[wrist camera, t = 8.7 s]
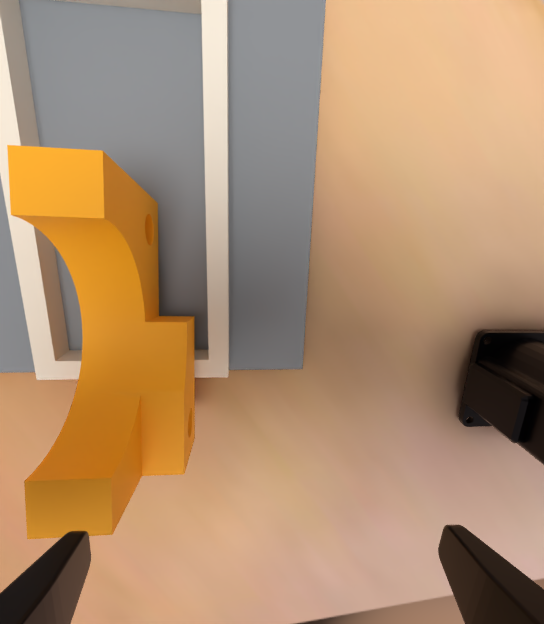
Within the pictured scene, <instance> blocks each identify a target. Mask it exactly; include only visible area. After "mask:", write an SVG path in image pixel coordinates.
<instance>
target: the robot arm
mask: <svg viewBox="0 0 544 624" xmlns="http://www.w3.org/2000/svg"><path fill="white" fill-rule="evenodd" d="M486 337H487V339H486V340H485V341H484V339H485V338H486ZM468 417H469V418H468ZM467 418H468V419H467ZM466 419H467V420H466ZM459 421H460V422H461V423H462V424H463V425H465V426H467V427H475V426H493V427H494V428H495V429H497V430H498V431H499V432H500V433H501V434H503V435H504V436H505V437H506V438H508V439H509V440H510V441H511V442H513V443H517V444H519V445H520V446H521V447H522V448H524V449H525V450H526V451H527V452H529V453H530V454H531V455H532V456H534V457H535V458H536V459H537V460H539V461H540V462H541V463H542V464H544V331H481V332H479V333H478V334H477V335H476V338H475V342H474V347H473V352H472V356H471V361H470V366H469V370H468V375H467V380H466V385H465V389H464V394H463V399H462V403H461V408H460V413H459ZM438 553H439V558H440V561H441V563H442V566H443V569H444V571H445V574H446V576H447V579H448V581H449V584H450V587H451V589H452V592H453V594H454V597H455V599H456V602H457V605H458V607H459V610H460V612H461V614H462V617H463V620H464V622H465V624H544V590H543V589H542V588H541V587H540V586H539V585H537V584H536V583H535V582H534V581H532V580H531V579H530V578H528V577H527V576H526V575H525V574H523V573H522V572H521V571H520V570H518V569H517V568H516V567H514V566H513V565H512V564H511V563H509V562H508V561H507V560H505V559H504V558H503V557H502V556H500V555H499V554H498V553H497V552H495V551H494V550H493V549H491V548H490V547H489V546H488V545H486V544H485V543H484V542H482V541H481V540H480V539H479V538H477V537H476V536H475V535H474V534H472V533H471V532H470V531H468V530H467V529H466V528H465V527H463V526H461V525H446V526H445V527H444V529H443V532H442V536H441V540H440V544H439V548H438ZM90 562H91V551H90V542H89V534H88V532H87V531H70V532H68V533H66V534H65V535H64V536H63V537H62V538H61V539H60V540H59V541H57V542H56V543H55V544H54V545H53V546H52V547H51V548H50V549H49V550H47V551H46V552H45V553H44V554H43V555H42V556H41V557H40V558H39V559H38V560H36V561H35V562H34V563H33V564H32V565H31V566H30V567H29V568H28V569H26V570H25V571H24V572H23V573H22V574H21V575H20V576H19V577H18V578H17V579H15V580H14V581H13V582H12V583H11V584H10V585H9V586H8V587H7V588H6V589H4V590H3V591H2V592H1V593H0V624H70V623H71V620H72V617H73V614H74V612H75V609H76V606H77V603H78V600H79V597H80V594H81V591H82V588H83V585H84V582H85V579H86V576H87V573H88V570H89V567H90Z"/></svg>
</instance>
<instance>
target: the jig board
mask: <svg viewBox="0 0 544 624" xmlns="http://www.w3.org/2000/svg"><path fill="white" fill-rule="evenodd" d="M325 3H326V0H0V373H3V372H35V373H36V378H37V380H63V379H79V373H80V367H81V359H82V341H83V335H82V319H81V311H80V305H79V300H78V295H77V292H76V288H75V285H74V282H73V279H72V276H71V274H70V272H69V269H68V267H67V265H66V263H65V261H64V259H63V258H62V256H61V254H60V253H59V251H58V250H57V249H56V247H55V246H54V245H53V243H52V242H51V241H50V240H49V239H48V238H47V237H46V236H45V235H44V234H43V233H42V232H41V231H40V230H39V229H37V228H36V227H34V226H33V225H32V224H30V223H28V222H26V221H25V220H23V219H21V218H18V217H15V216H13V215H11V209H10V189H9V170H8V150H7V145H17V146H34V147H51V148H68V149H85V150H102V151H104V152H105V153H106V154H107V155H108V156H109V157H110V158H111V159H112V160H113V161H114V162H115V163H116V164H117V165H118V166H119V167H120V168H121V169H123V170H124V171H125V172H126V173H127V174H128V175H129V176H130V177H131V178H132V179H133V180H134V181H135V182H136V183H137V184H138V185H139V186H140V187H141V188H142V189H144V190H145V191H146V192H147V193H148V194H149V195H150V196H151V197H152V198H153V199H154V200H155V201H156V202H157V203H158V268H159V316H194V353H195V378H210V377H228V375H229V370H266V369H303V353H304V337H305V321H306V305H307V289H308V274H309V258H310V242H311V226H312V210H313V194H314V178H315V162H316V146H317V130H318V115H319V99H320V83H321V67H322V51H323V35H324V19H325Z"/></svg>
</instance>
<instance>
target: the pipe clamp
mask: <svg viewBox="0 0 544 624" xmlns="http://www.w3.org/2000/svg"><path fill="white" fill-rule="evenodd" d="M7 150H8V170H9V189H10V209H11V215H13V216H15V217H18V218H21V219H23V220H25V221H26V222H28V223H30V224H32V225H33V226H34V227H36V228H37V229H39V230H40V231H41V232H42V233H43V234H44V235H45V236H46V237H47V238H48V239H49V240H50V241H51V242H52V243H53V245H54V246H55V247H56V249H57V250H58V251H59V253H60V254H61V256H62V258H63V259H64V261H65V263H66V265H67V267H68V269H69V272H70V274H71V276H72V279H73V282H74V285H75V288H76V292H77V295H78V300H79V305H80V311H81V319H82V335H83V341H82V359H81V367H80V373H79V379H78V384H77V388H76V392H75V396H74V399H73V402H72V405H71V408H70V411H69V414H68V416H67V419H66V421H65V423H64V426H63V428H62V430H61V432H60V434H59V436H58V438H57V440H56V441H55V443H54V445H53V446H52V448H51V450H50V451H49V453H48V454H47V456H46V457H45V458H44V460H43V461H42V462H41V464H40V465H39V466H38V467H37V468H36V470H35V471H34V472H33V473H32V474H31V475H30V476H29V477H28V478H27V479H26V480H25V481H24V483H25V502H26V522H27V539H40V538H58V537H63V536H64V535H65V534H66V533H68V532H70V531H87V532H88V534H89V536H96V535H112V534H113V532H114V530H115V528H116V526H117V524H118V522H119V520H120V518H121V516H122V514H123V512H124V510H125V508H126V506H127V504H128V503H129V501H130V499H131V497H132V495H133V493H134V491H135V489H136V487H137V485H138V483H139V481H140V479H141V477H142V476H151V475H178V474H184V473H185V470H186V466H187V463H188V459H189V456H190V452H191V449H192V445H193V442H194V438H195V353H194V316H159V268H158V203H157V202H156V201H155V200H154V199H153V198H152V197H151V196H150V195H149V194H148V193H147V192H146V191H145V190H144V189H142V188H141V187H140V186H139V185H138V184H137V183H136V182H135V181H134V180H133V179H132V178H131V177H130V176H129V175H128V174H127V173H126V172H125V171H124V170H123V169H121V168H120V167H119V166H118V165H117V164H116V163H115V162H114V161H113V160H112V159H111V158H110V157H109V156H108V155H107V154H106V153H105V152H104V151H102V150H85V149H68V148H51V147H34V146H17V145H7Z"/></svg>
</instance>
